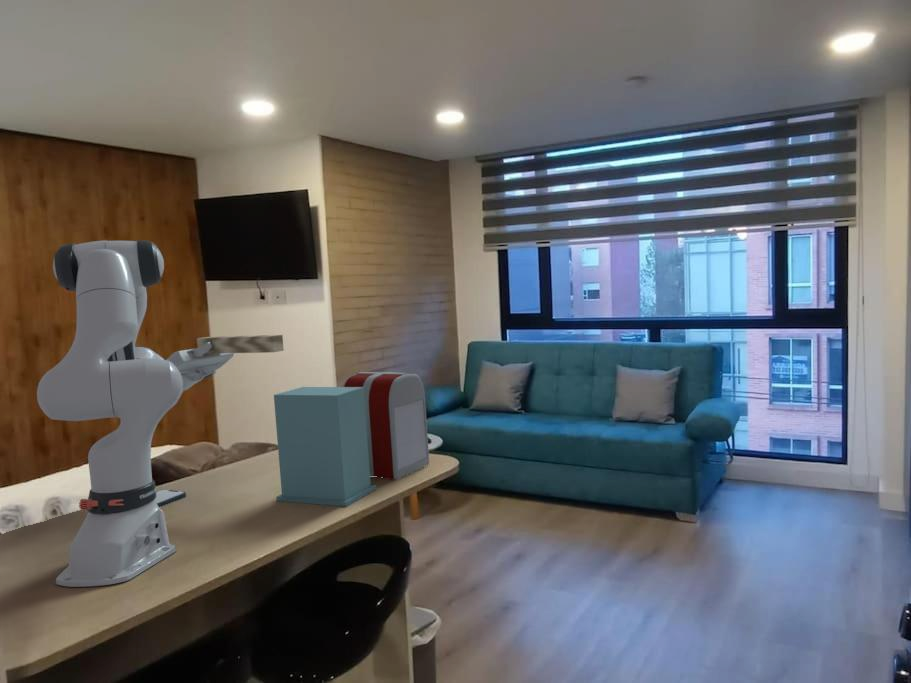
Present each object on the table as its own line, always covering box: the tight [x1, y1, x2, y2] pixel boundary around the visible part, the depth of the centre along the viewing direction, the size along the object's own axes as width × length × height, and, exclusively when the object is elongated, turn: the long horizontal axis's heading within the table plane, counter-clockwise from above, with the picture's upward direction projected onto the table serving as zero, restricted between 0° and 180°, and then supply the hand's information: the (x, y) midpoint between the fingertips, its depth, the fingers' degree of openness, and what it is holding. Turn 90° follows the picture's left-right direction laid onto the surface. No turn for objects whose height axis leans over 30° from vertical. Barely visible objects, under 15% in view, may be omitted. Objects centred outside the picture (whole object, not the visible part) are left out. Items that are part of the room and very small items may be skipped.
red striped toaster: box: [342, 371, 430, 480], centre depth 195 cm, size 16×18×27 cm
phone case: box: [155, 489, 187, 508], centre depth 176 cm, size 9×2×16 cm
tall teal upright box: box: [273, 386, 377, 507], centre depth 174 cm, size 20×14×26 cm
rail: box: [196, 334, 285, 354], centre depth 181 cm, size 24×4×4 cm, turn 67°
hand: (218, 343), depth 183 cm, fingers closed on rail, 4 cm apart
